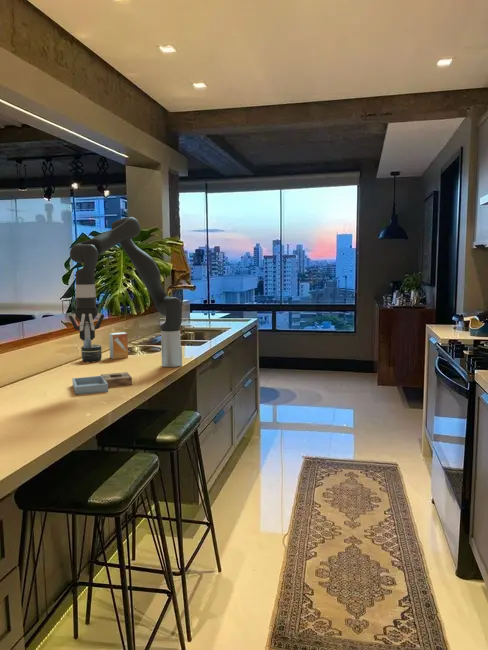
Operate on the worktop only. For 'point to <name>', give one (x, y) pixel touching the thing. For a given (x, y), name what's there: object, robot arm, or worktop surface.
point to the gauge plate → (117, 379)
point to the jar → (91, 353)
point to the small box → (118, 345)
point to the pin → (87, 335)
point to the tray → (89, 385)
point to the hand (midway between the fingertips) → (87, 339)
